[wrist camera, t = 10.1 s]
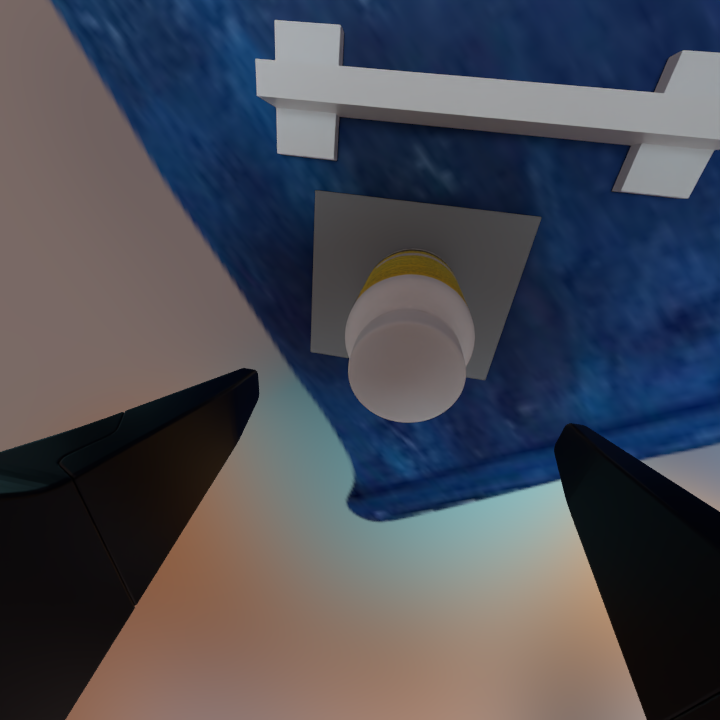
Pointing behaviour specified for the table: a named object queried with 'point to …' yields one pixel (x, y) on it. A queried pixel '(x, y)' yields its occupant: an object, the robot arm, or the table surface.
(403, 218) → the slate mat
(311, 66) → the white barrier
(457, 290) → the supplement bottle
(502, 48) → the table surface
